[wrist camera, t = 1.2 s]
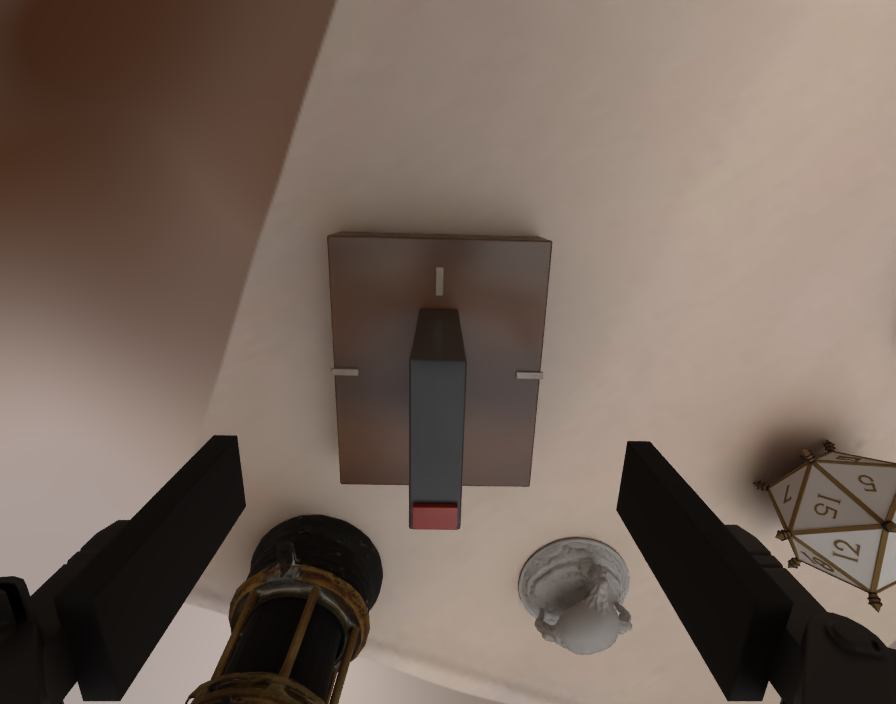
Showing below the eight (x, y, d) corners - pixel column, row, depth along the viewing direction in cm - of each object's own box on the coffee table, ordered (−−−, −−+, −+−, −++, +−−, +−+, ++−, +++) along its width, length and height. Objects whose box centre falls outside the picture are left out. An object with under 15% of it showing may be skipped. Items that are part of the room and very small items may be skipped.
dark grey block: (419, 308, 23) (408, 361, 15) (458, 309, 23) (467, 362, 15) (418, 431, 25) (408, 533, 18) (454, 432, 25) (460, 534, 18)
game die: (787, 435, 33) (998, 490, 26) (752, 548, 33) (958, 639, 25) (752, 405, 28) (1009, 464, 20) (708, 540, 27) (957, 655, 19)
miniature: (499, 566, 32) (509, 627, 28) (601, 520, 31) (629, 575, 26) (547, 641, 34) (564, 708, 30) (644, 600, 33) (677, 663, 29)
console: (337, 231, 25) (323, 235, 22) (541, 236, 25) (555, 241, 22) (348, 457, 29) (337, 486, 26) (522, 459, 30) (531, 488, 26)
